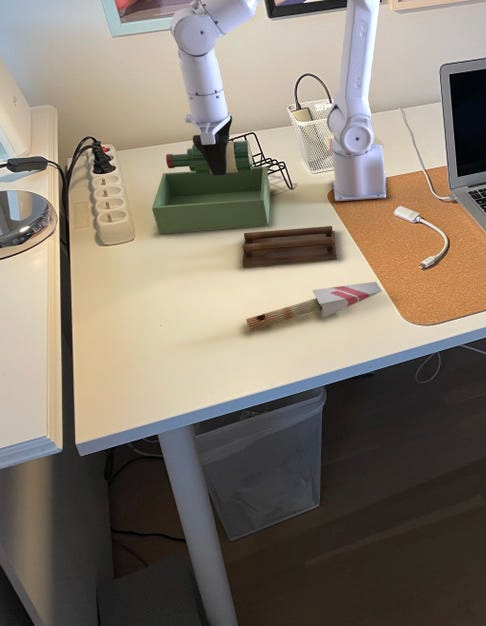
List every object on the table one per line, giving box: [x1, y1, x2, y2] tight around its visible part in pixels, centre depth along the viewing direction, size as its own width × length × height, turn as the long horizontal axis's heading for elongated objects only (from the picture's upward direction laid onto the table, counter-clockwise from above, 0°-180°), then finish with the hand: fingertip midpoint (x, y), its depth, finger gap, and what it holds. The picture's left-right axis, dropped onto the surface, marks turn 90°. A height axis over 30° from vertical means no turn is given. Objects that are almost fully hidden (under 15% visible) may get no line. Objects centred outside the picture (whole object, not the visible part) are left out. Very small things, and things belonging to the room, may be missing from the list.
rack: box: [242, 225, 338, 268], centre depth 120 cm, size 15×8×3 cm, turn 102°
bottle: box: [165, 140, 254, 175], centre depth 124 cm, size 14×5×5 cm, turn 102°
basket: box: [151, 166, 271, 235], centre depth 129 cm, size 18×13×5 cm
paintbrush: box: [245, 281, 383, 332], centre depth 107 cm, size 4×3×20 cm
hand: (221, 166), depth 125 cm, fingers closed on bottle, 5 cm apart
